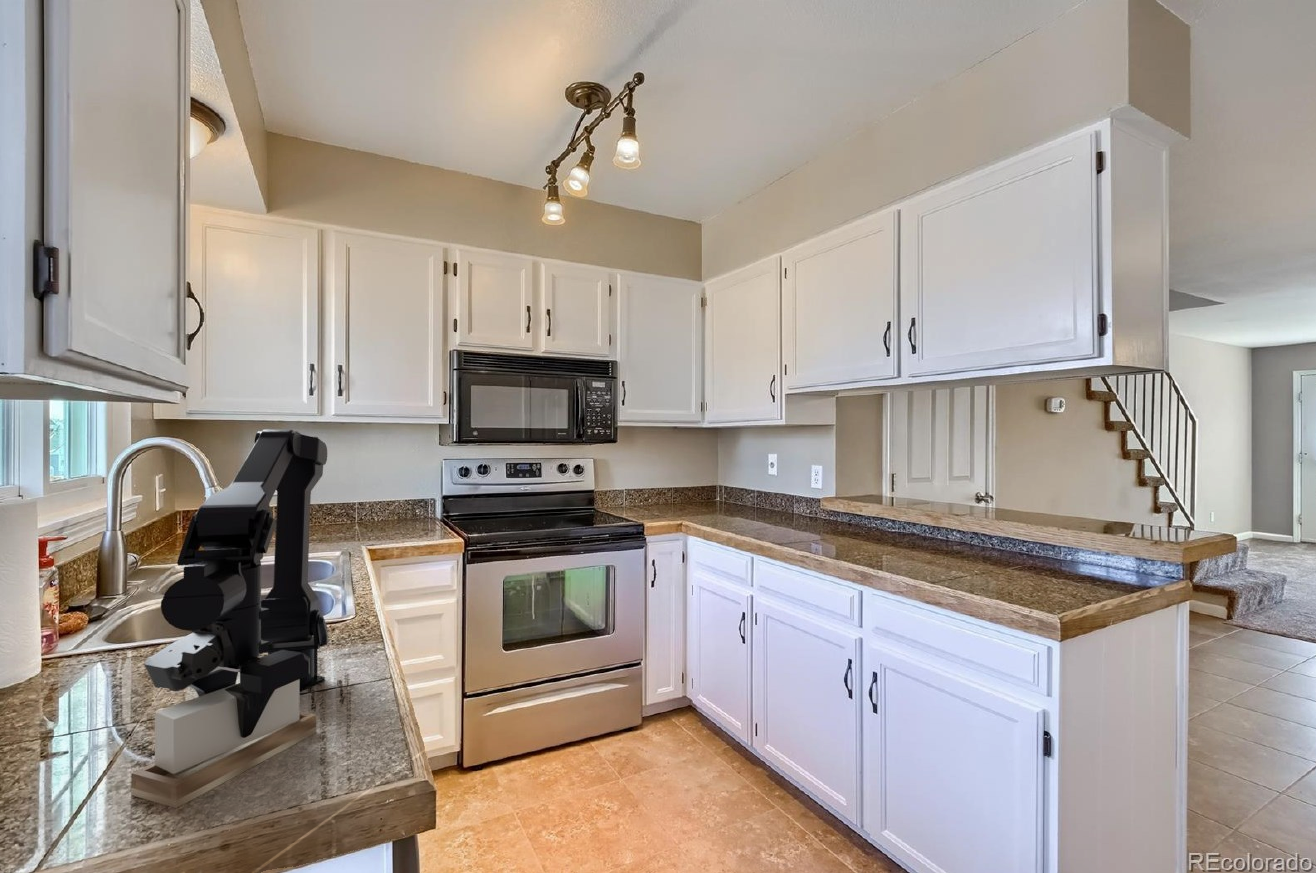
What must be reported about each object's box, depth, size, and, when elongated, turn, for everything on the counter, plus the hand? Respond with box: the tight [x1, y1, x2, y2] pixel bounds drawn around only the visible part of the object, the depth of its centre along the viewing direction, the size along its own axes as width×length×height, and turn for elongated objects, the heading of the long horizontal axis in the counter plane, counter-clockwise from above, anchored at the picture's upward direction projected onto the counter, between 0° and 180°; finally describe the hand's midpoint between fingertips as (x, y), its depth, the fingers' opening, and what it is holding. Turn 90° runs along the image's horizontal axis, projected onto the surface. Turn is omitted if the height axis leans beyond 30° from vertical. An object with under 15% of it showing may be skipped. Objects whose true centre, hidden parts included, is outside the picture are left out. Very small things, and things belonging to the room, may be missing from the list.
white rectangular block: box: [154, 679, 300, 774], centre depth 73 cm, size 14×4×6 cm, turn 153°
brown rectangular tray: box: [130, 710, 317, 809], centre depth 73 cm, size 17×7×2 cm, turn 161°
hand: (232, 733), depth 73 cm, fingers open, 4 cm apart
